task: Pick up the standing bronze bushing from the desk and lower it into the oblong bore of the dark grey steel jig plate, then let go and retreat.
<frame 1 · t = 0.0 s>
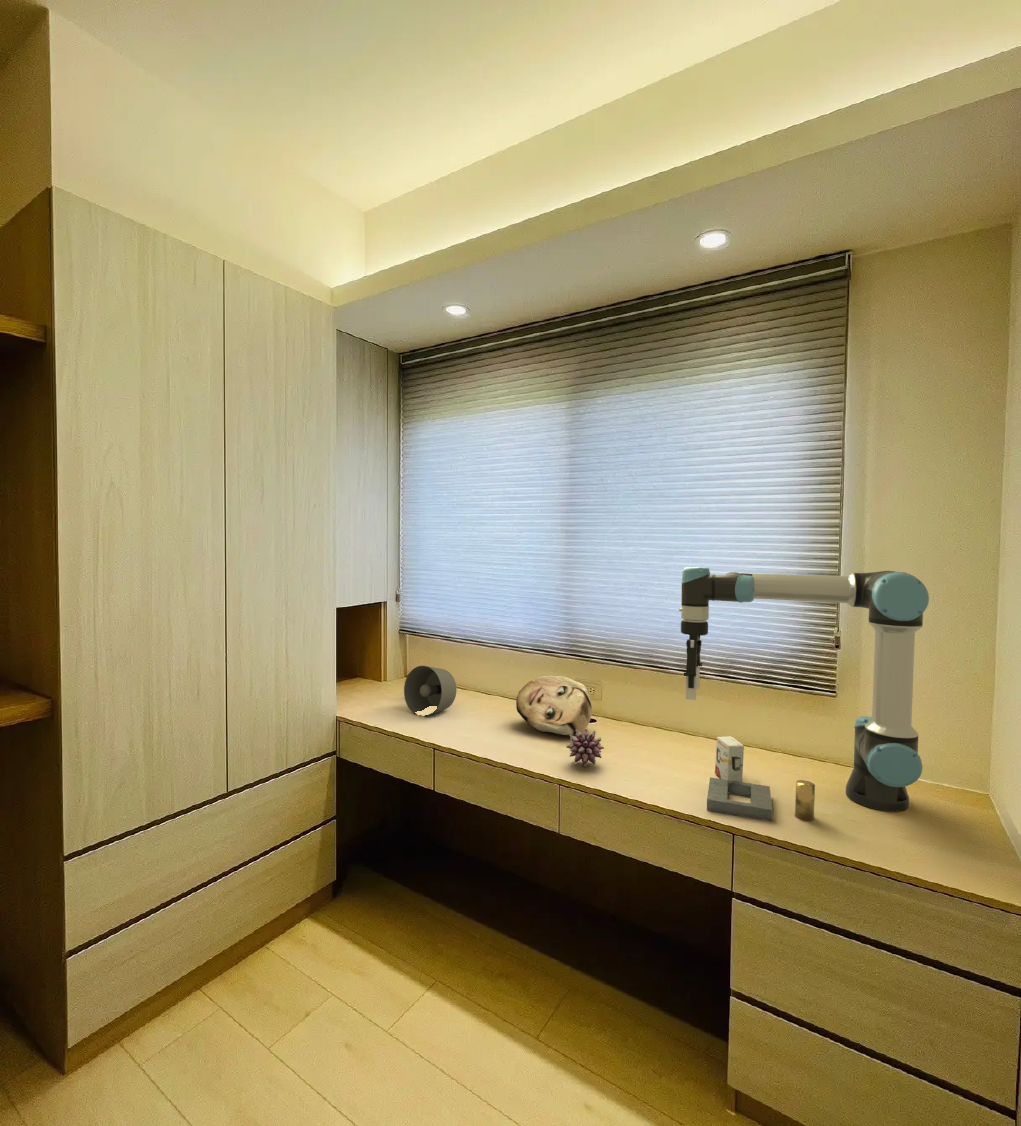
hand: (692, 693, 170), 28 cm above the table, fingers open, 13 cm apart
light fixture: (436, 707, 251), on the table
jig: (738, 803, 161), on the table
bushing: (804, 817, 154), on the table
purple spiky ball: (584, 766, 188), on the table
ink box: (728, 779, 178), on the table
head sculpture: (550, 730, 223), on the table
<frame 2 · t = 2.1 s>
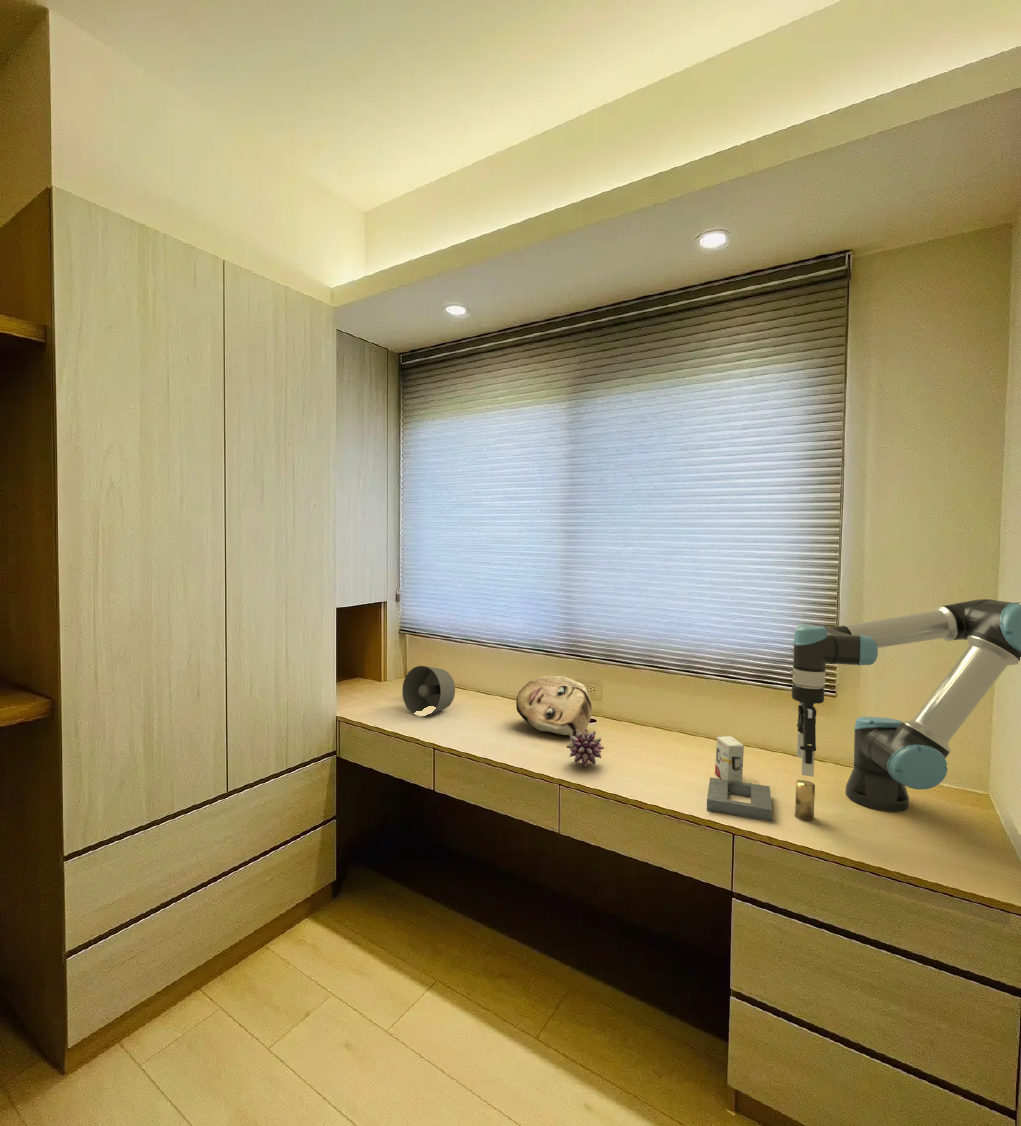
hand: (804, 766, 153), 14 cm above the table, fingers open, 13 cm apart
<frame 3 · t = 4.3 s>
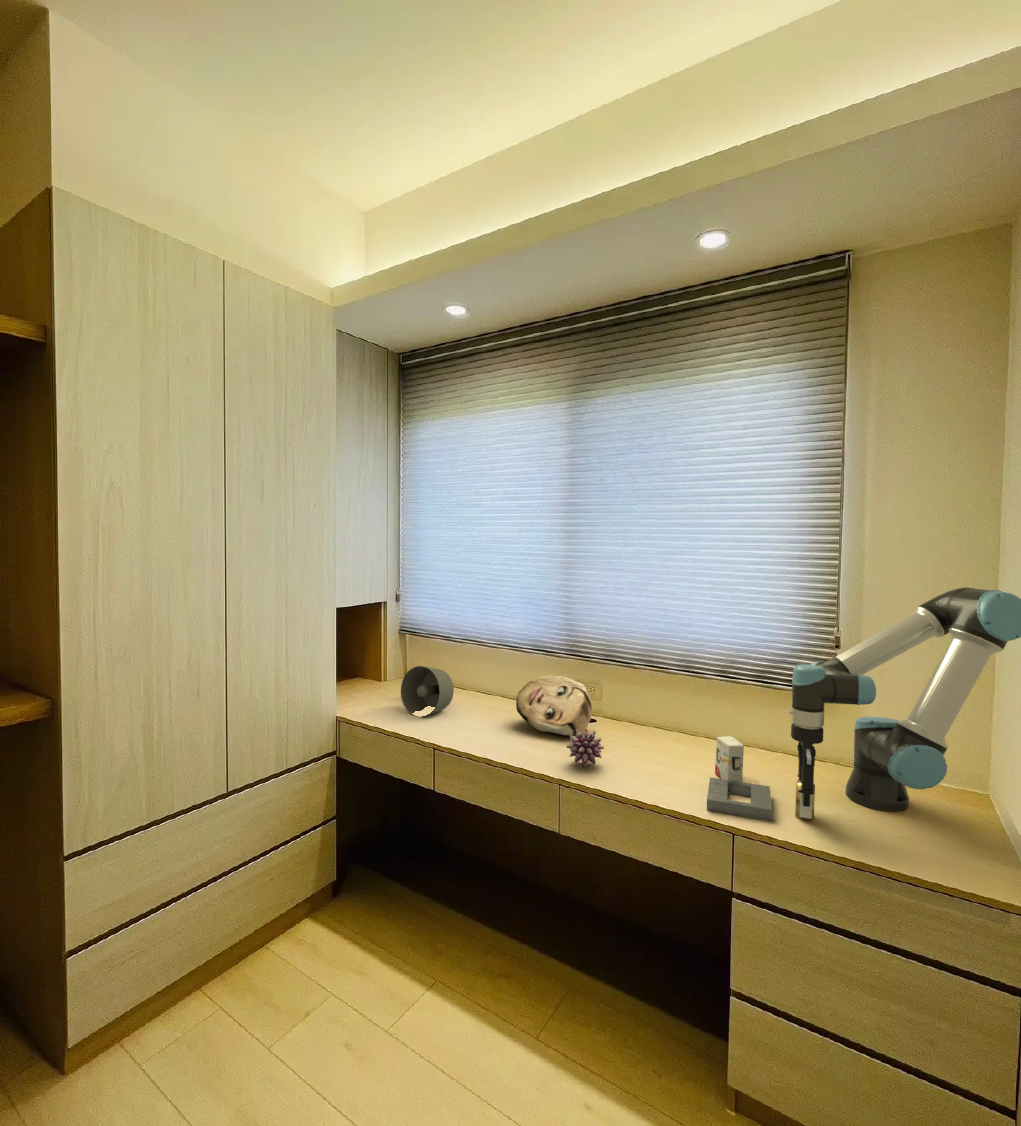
hand: (804, 812, 154), 1 cm above the table, fingers closed on bushing, 4 cm apart
bushing: (804, 817, 154), on the table, touching gripper
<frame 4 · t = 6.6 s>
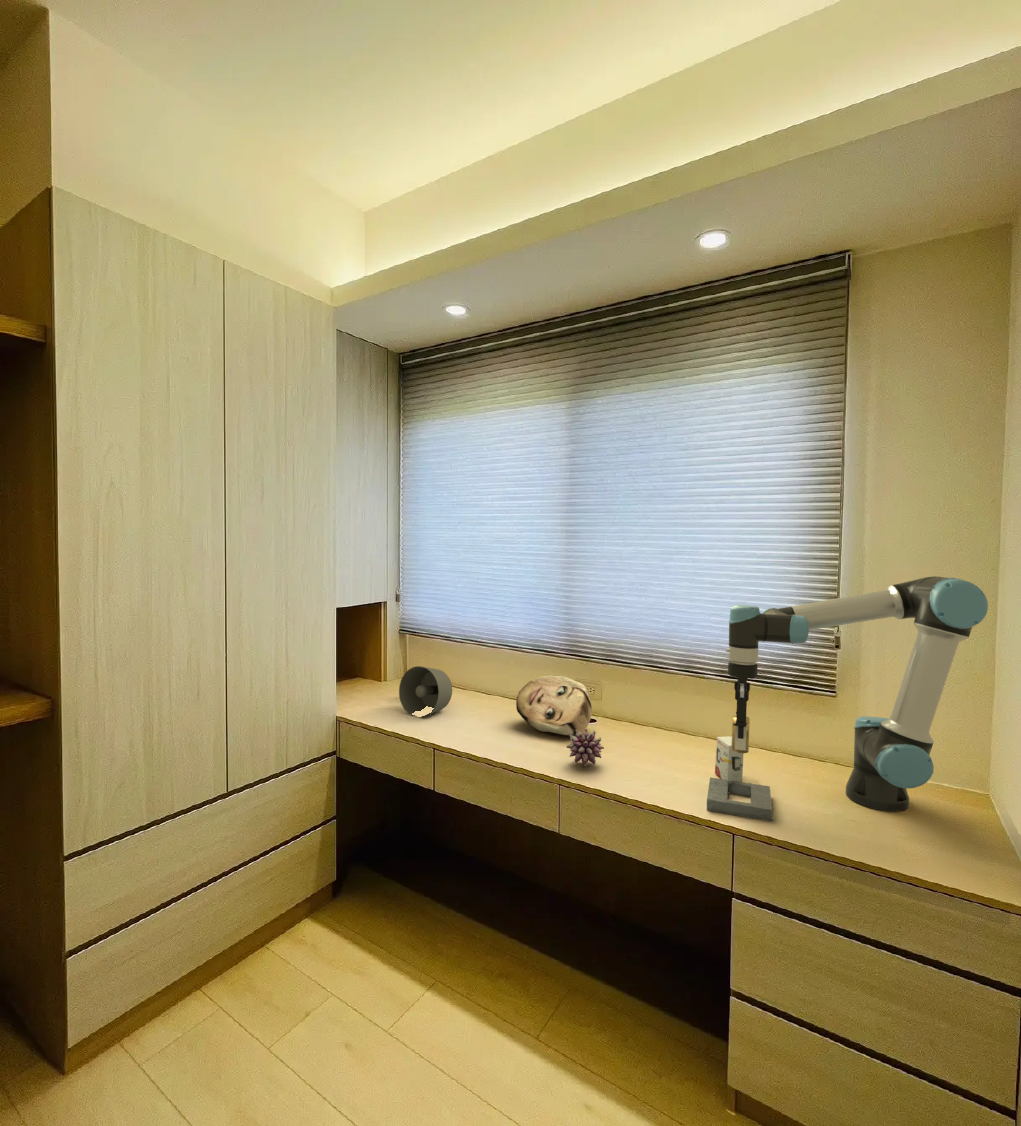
hand: (740, 746, 161), 16 cm above the table, fingers closed on bushing, 4 cm apart
bushing: (739, 750, 161), point 15 cm above the table, touching gripper
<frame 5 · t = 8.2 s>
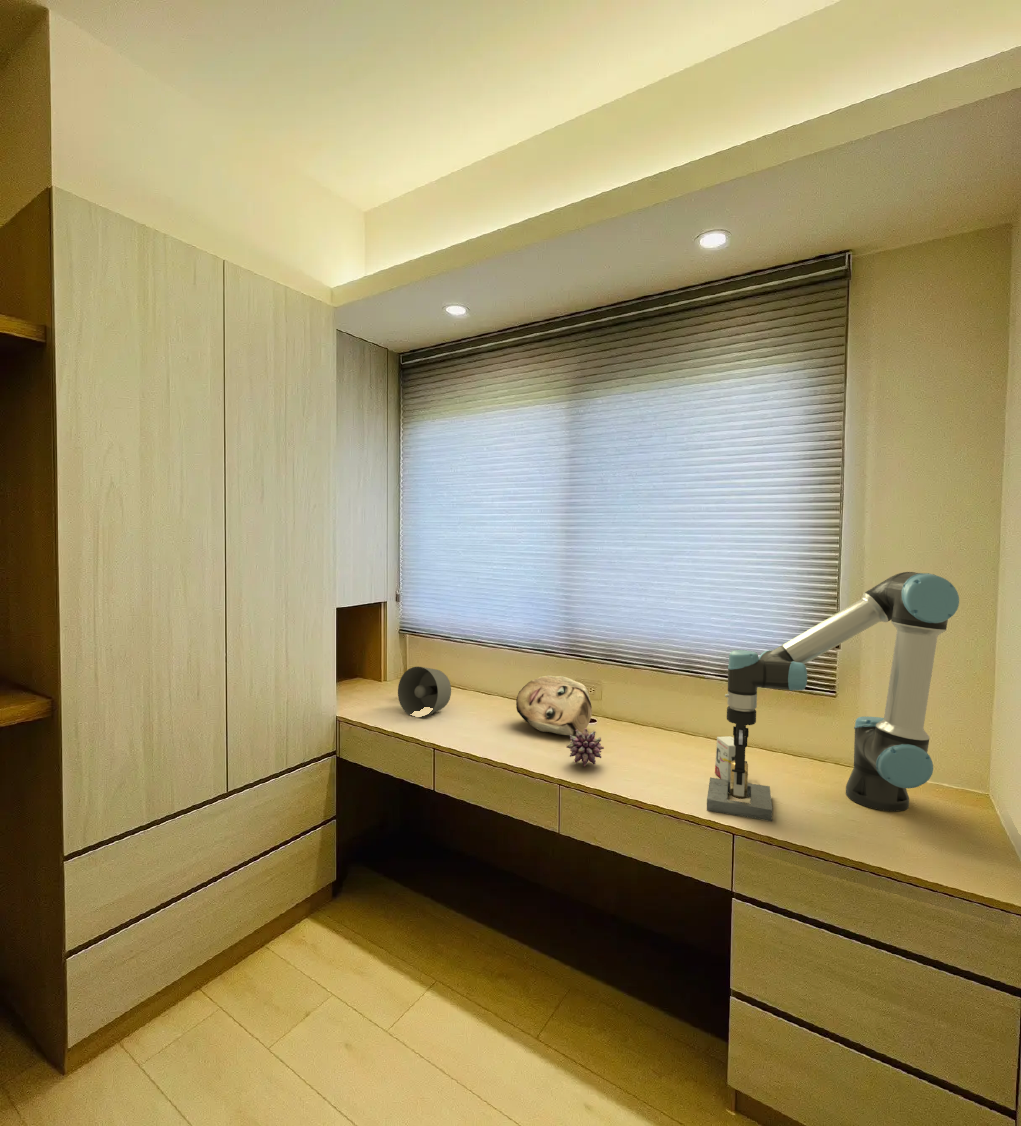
hand: (738, 791, 161), 3 cm above the table, fingers closed on bushing, 4 cm apart
bushing: (738, 795, 161), point 2 cm above the table, touching gripper
when the fingers open (3 cm above the table, at t = 9.2 s): bushing drops 1 cm, resting in jig.
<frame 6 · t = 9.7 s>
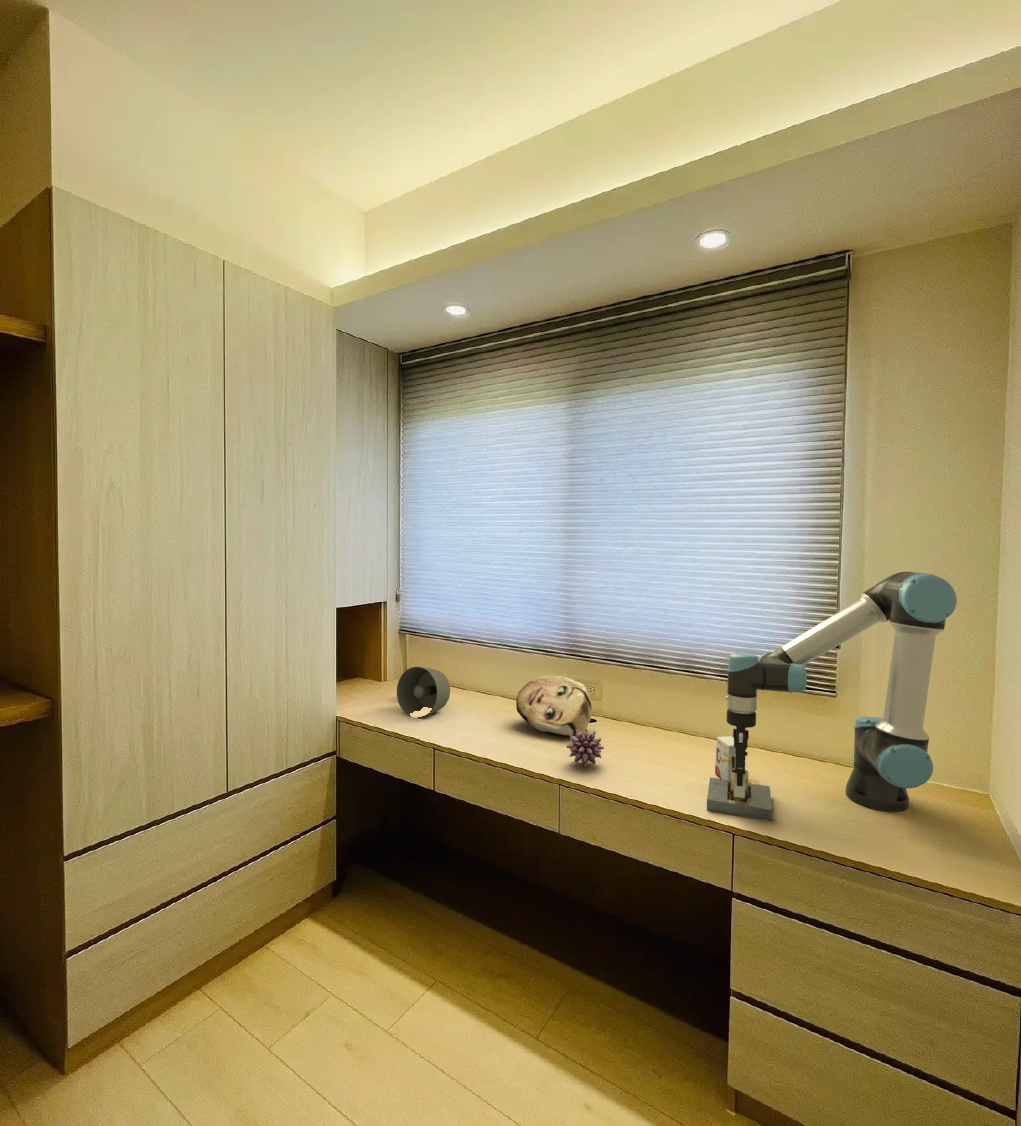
hand: (739, 787, 161), 4 cm above the table, fingers open, 12 cm apart
bushing: (739, 803, 161), resting in jig
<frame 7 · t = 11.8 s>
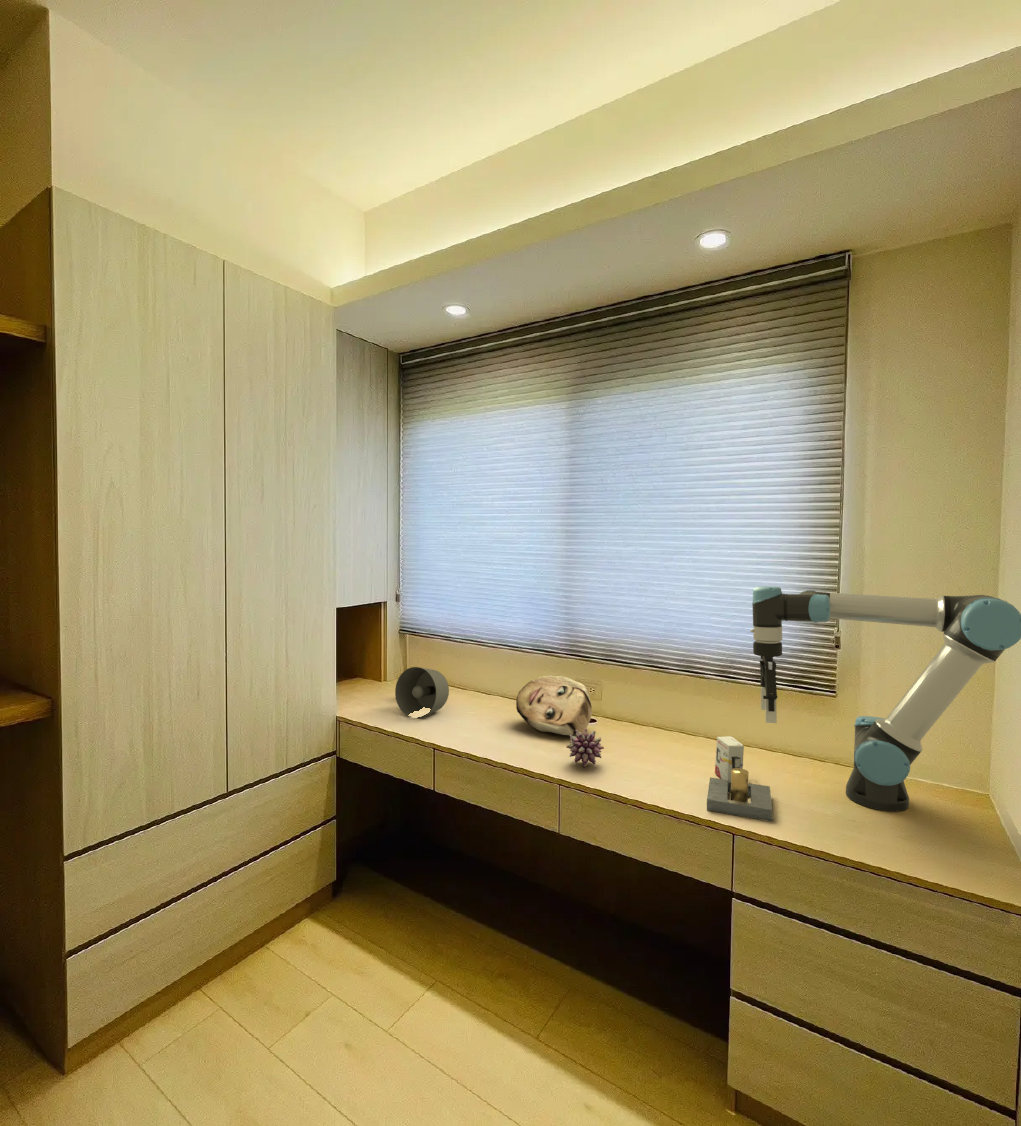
hand: (768, 716, 166), 23 cm above the table, fingers open, 13 cm apart
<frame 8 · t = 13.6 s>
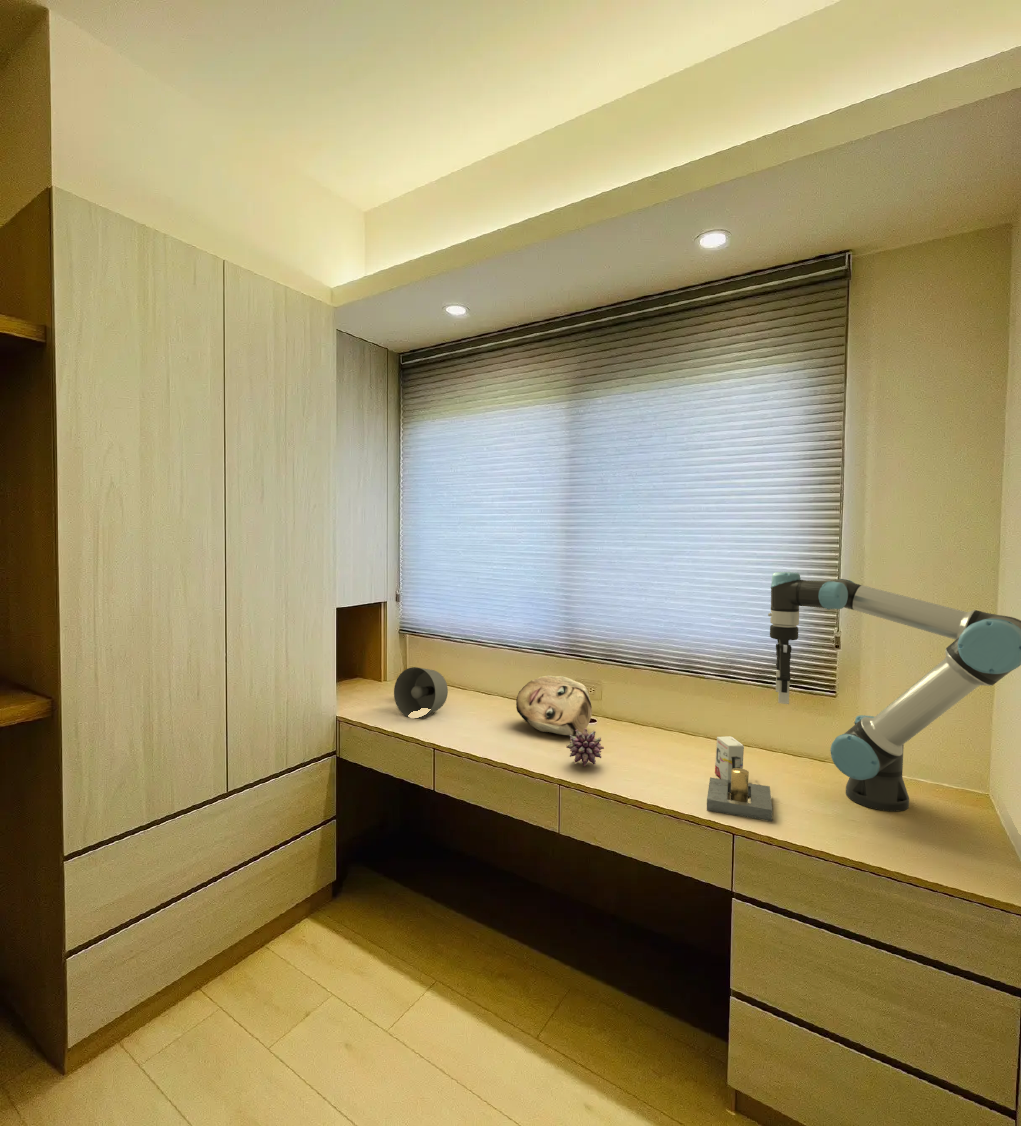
hand: (782, 697, 171), 27 cm above the table, fingers open, 13 cm apart
at the end: bushing 0.0 cm off-centre on the jig, point 0.0 cm above the jig's base; bushing tilted 1°; the gripper is holding nothing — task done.
